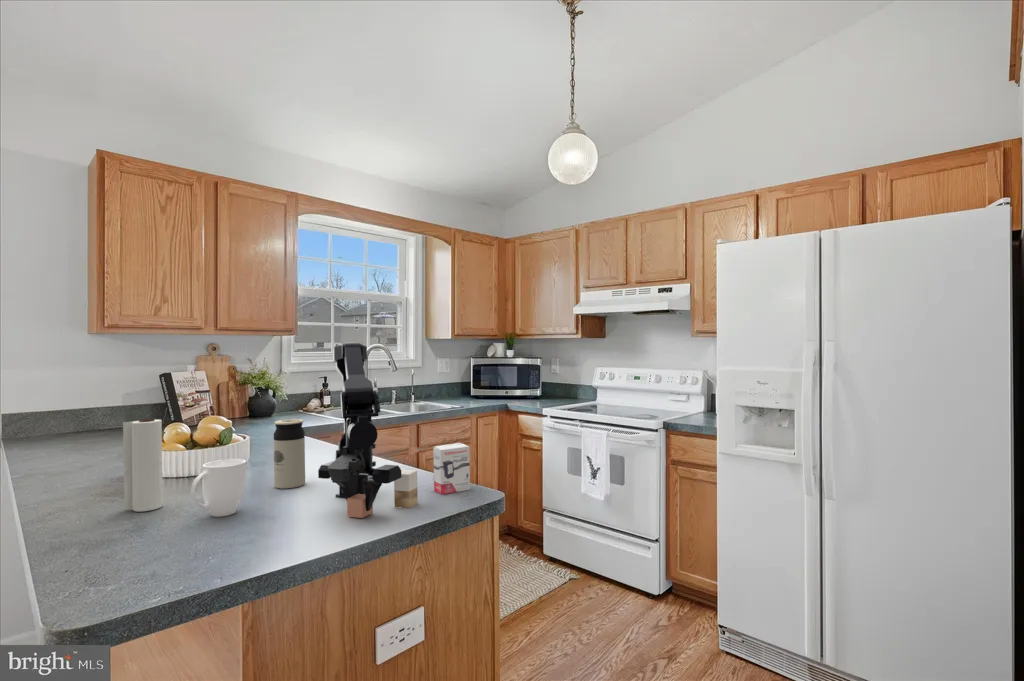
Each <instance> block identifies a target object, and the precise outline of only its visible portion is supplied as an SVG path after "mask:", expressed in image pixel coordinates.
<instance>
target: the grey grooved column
mask: <svg viewBox="0 0 1024 681" xmlns="http://www.w3.org/2000/svg"><path fill="white" fill-rule="evenodd" d="M162 422H163V421H162V419H152V418H151V419H141V420H133V421H123V422H122V423H123V424H122V431H123V432H122V435H123V436H122V439H123V442H122V443H123V446H122V448H123V506H124V507H123V509H124V510H129V509H132V511H134V512H137V513H138V512H142V513H143V512H149V511H153V510H157V509H160V508H162V507H163V505H164V504H163V499H164V498H163V497H164V496H163V438H162V437H163V436H162V432H163V431H162V426H163V425H162V424H163V423H162Z"/></svg>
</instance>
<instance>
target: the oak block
mask: <svg viewBox="0 0 1024 681" xmlns="http://www.w3.org/2000/svg"><path fill="white" fill-rule="evenodd" d="M418 492H419V491H418V487H417V488H415V489H413V490H411V491H397V490H394V491H393V493H394V494H393V497H394V508H399V507H402V508H403V509H411V508H413V507H414V506H415V505H418V504H417V503H419V502H418V501H419V499H418V498H419V497H418ZM412 506H413V507H412Z"/></svg>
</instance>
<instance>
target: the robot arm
mask: <svg viewBox="0 0 1024 681" xmlns="http://www.w3.org/2000/svg"><path fill="white" fill-rule="evenodd" d="M332 348H333V349H332V361H333V363H335V370H336V372H337V373H338V375H339V376H340V377H341V379H342V391H340V409H341V418H342V420H343V435H342V437H341V439H340V441H339V443H338V444H337V445H338V446H337V447H338V448H337V449H335V458H334V459H335V460H332V461H330V462H327V463H324V464H321V465H320V466H319V468H318V470H317V472H318V474H317V476H318V477H317V478H318V479H325V480H327V479H330V480H331V482H332V483H334V484H336V485H338V488H339V490H338V493H335V498H345V500H346V501H347V498H350V497H352V496H354V495H356V494H365V502H366V511H369V510H370V509H371V507H372V505H373V506H374V502H375V499H376V497H377V494H378V492H379V490H380V489H381V486H383V484H390V483H394V481H395V480H397V479H399V478H401V470H402V469H401V467H400V466H399V465H398V464H397V465H395V464H383V465H382V466H379V467H376V466H377V464H376V463H377V461H375V460H373V458H374V455H373V454H374V453H373V450H374V449H376V447H377V446H376V441H377V440H378V429H377V428H376V426H375V424H374V423H373V420H372V418H375V417H376V418H377V417H379V413H380V412H381V406H380V405H381V404H380V398H379V394H378V393H377V390H376V389H374V387H373V383H372V381H371V380H370V379H369V378H366V374H365V367H364V366H365V362H367V361H368V351H367V350H368V349H367V348H368V347H367V345H364V344H363V343H360V342H344V343H341V344H338V345H337V346H334V347H332ZM374 467H376V468H374Z"/></svg>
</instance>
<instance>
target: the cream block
mask: <svg viewBox="0 0 1024 681" xmlns="http://www.w3.org/2000/svg"><path fill="white" fill-rule="evenodd" d="M393 485H394V486H393V489H394V490H397V491H411V490H413V489H415V488H417V489H418V470H416V469H415V470H412V469H401V478H399V479H397V480H395V481H393Z"/></svg>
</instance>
